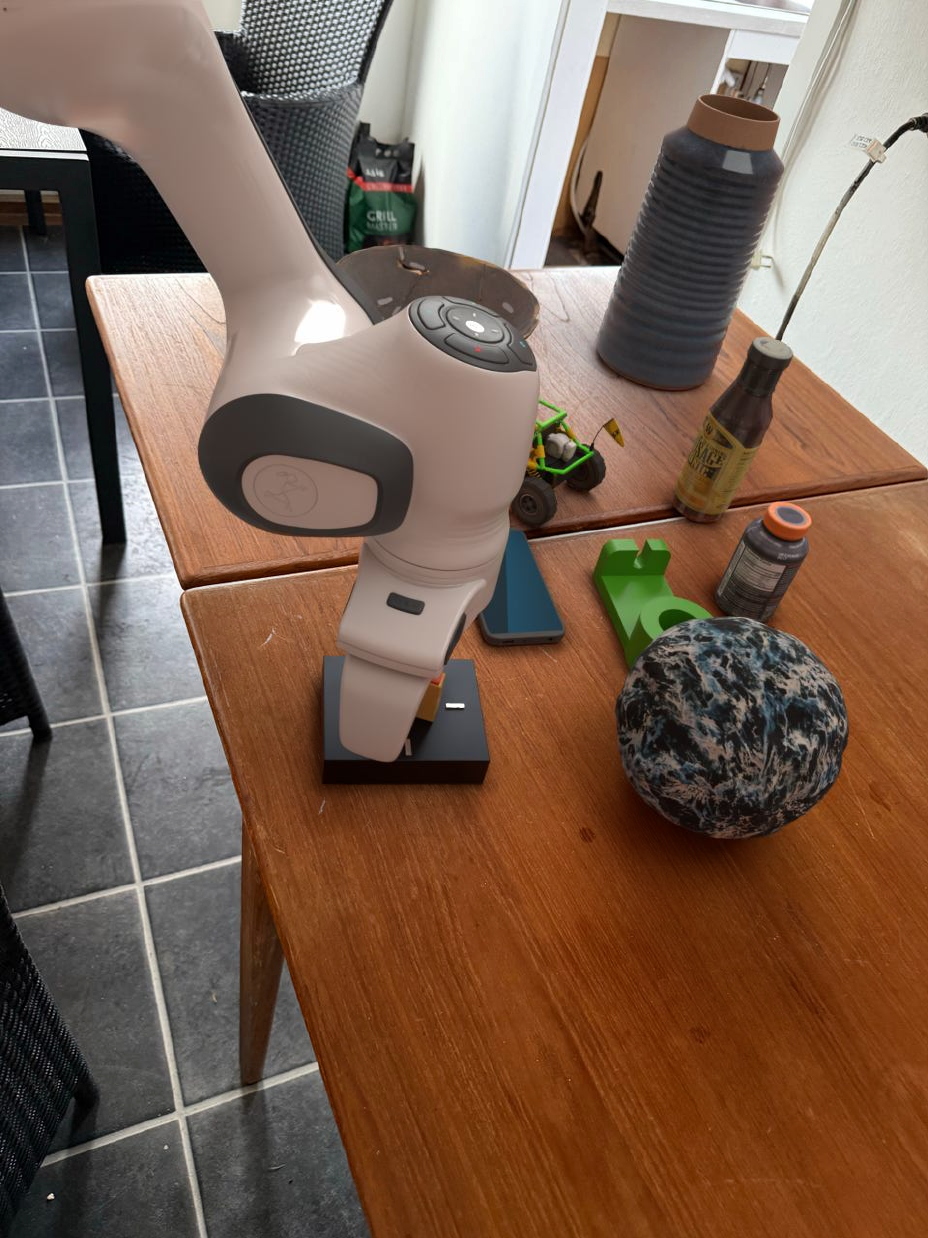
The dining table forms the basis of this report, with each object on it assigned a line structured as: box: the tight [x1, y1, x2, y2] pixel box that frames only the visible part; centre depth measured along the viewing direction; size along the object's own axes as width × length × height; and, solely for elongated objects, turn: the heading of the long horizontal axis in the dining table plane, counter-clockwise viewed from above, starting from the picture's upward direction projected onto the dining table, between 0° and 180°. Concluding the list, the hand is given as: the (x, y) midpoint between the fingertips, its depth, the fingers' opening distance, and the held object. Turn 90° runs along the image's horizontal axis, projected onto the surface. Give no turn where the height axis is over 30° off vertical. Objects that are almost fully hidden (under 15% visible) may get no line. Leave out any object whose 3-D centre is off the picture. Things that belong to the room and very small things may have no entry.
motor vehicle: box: [510, 397, 625, 528], centre depth 91 cm, size 12×19×11 cm, turn 51°
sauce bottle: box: [671, 336, 794, 524], centre depth 90 cm, size 6×6×20 cm
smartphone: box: [476, 527, 566, 647], centre depth 82 cm, size 8×15×1 cm, turn 13°
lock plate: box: [320, 655, 491, 785], centre depth 67 cm, size 12×10×3 cm
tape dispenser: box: [591, 538, 714, 670], centre depth 80 cm, size 15×7×5 cm, turn 11°
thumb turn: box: [415, 671, 446, 722], centre depth 65 cm, size 5×2×4 cm, turn 76°
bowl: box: [335, 244, 541, 341], centre depth 106 cm, size 25×25×10 cm
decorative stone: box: [614, 615, 850, 840], centre depth 64 cm, size 16×16×15 cm
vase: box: [595, 93, 786, 391], centre depth 110 cm, size 16×16×32 cm
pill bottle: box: [714, 501, 812, 624], centre depth 82 cm, size 6×6×11 cm
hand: (405, 697), depth 65 cm, fingers closed, pressing on thumb turn
